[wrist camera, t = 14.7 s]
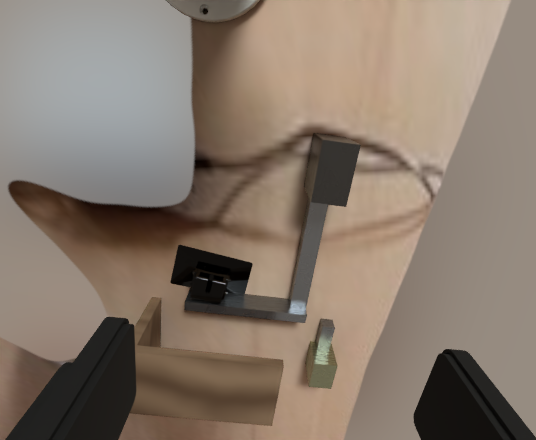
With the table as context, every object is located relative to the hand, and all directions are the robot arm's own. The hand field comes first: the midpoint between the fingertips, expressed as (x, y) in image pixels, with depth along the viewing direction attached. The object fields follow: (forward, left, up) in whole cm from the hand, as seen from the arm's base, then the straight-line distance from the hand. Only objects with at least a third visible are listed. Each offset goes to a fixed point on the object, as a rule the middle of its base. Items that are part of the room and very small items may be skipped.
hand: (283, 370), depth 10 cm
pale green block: (+23, +10, -28) cm, 38 cm away
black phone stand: (+14, -5, -29) cm, 32 cm away
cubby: (+24, -4, -28) cm, 37 cm away
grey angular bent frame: (+7, 0, -28) cm, 29 cm away
